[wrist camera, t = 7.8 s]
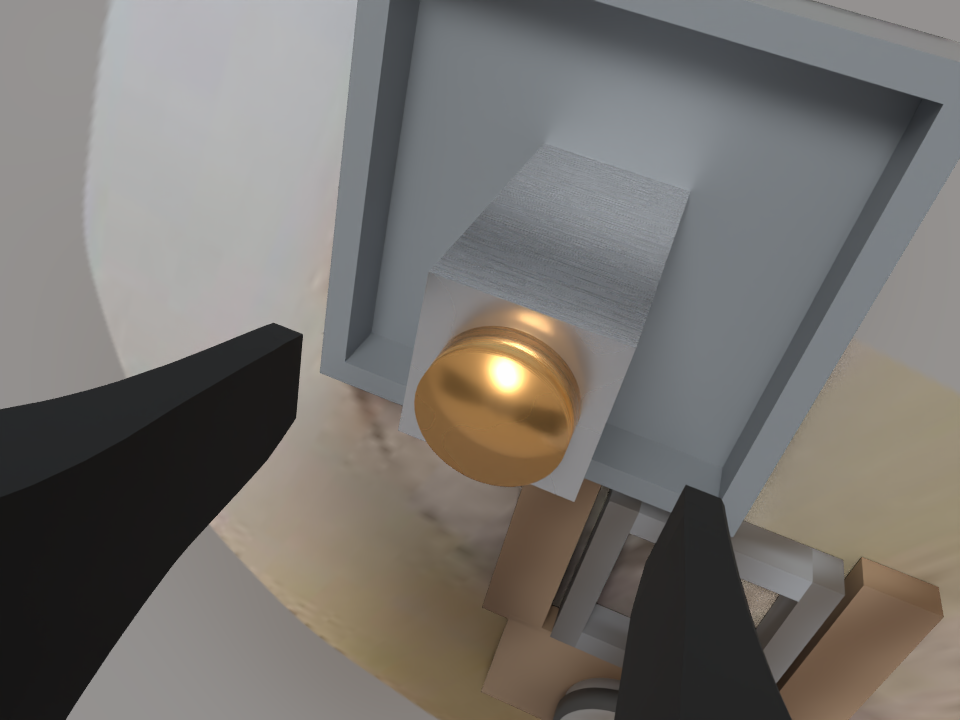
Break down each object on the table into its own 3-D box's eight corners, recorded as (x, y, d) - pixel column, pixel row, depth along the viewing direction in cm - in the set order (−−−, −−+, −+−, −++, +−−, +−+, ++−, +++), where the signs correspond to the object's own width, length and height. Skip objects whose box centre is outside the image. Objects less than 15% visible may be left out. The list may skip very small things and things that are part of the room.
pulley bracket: (938, 587, 25) (959, 709, 21) (758, 790, 33) (752, 902, 29) (543, 432, 27) (503, 519, 23) (466, 659, 35) (428, 749, 31)
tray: (985, 49, 17) (1008, 76, 15) (739, 483, 25) (733, 537, 23) (414, -113, 19) (368, -109, 17) (355, 334, 27) (319, 372, 25)
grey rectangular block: (690, 191, 20) (625, 378, 13) (640, 318, 23) (562, 535, 15) (544, 142, 21) (406, 296, 14) (510, 271, 23) (377, 459, 16)
